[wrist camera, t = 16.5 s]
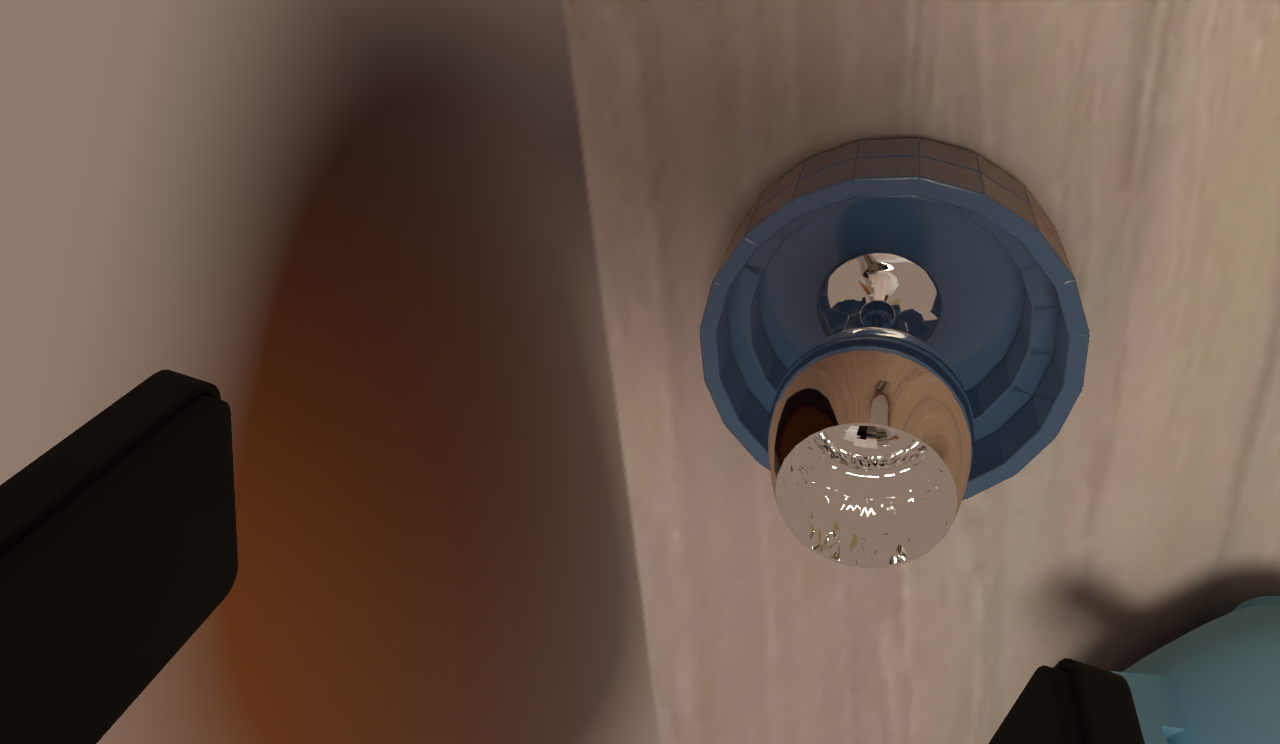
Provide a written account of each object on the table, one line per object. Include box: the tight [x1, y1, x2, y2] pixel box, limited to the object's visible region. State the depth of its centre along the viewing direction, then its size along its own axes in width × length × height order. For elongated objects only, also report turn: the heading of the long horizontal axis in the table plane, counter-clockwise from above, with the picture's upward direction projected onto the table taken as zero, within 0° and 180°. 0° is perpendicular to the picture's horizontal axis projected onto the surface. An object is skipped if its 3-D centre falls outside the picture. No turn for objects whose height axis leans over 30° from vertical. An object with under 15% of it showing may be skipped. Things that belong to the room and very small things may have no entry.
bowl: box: [700, 138, 1089, 500], centre depth 33 cm, size 12×12×5 cm
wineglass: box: [768, 250, 975, 568], centre depth 29 cm, size 6×6×12 cm
